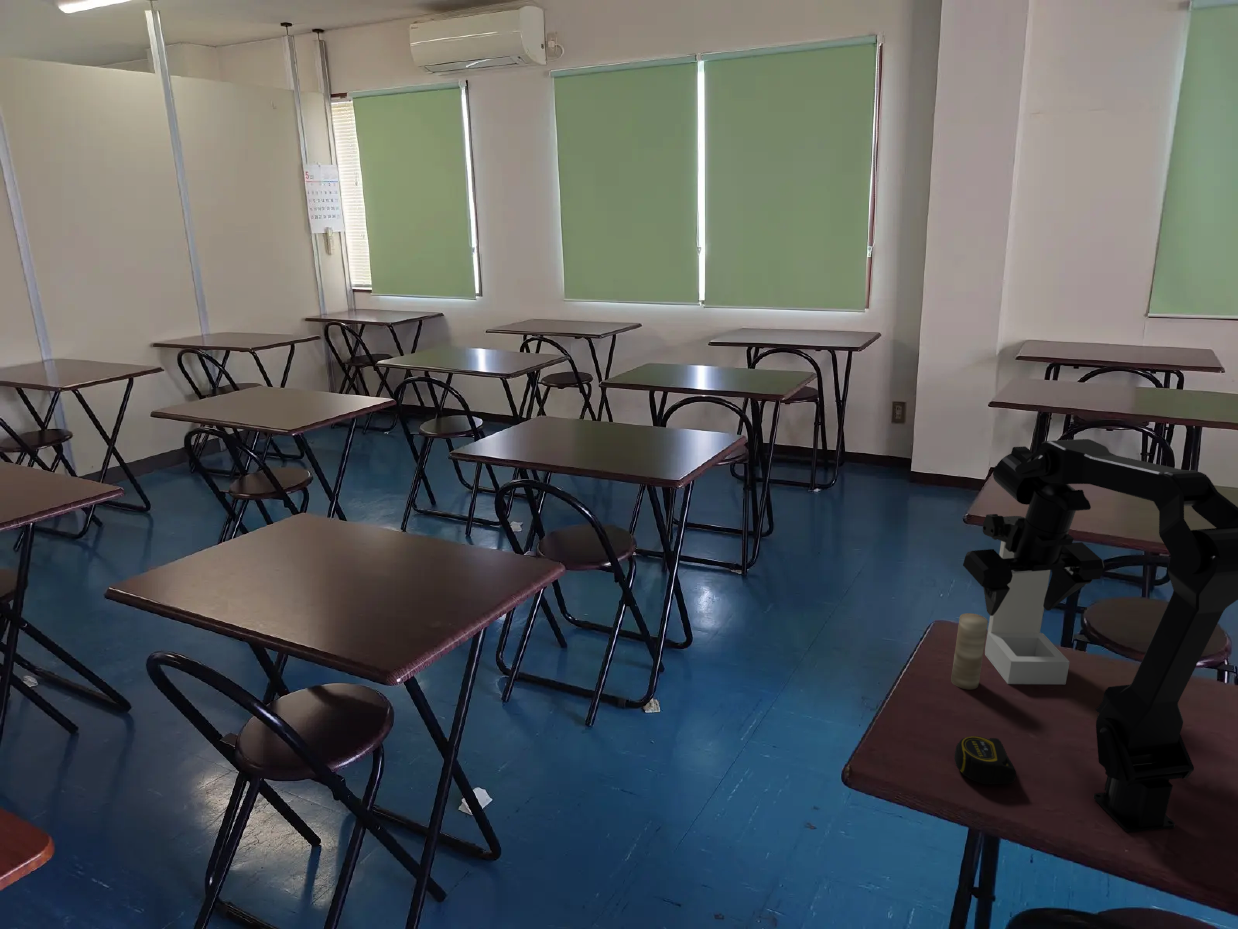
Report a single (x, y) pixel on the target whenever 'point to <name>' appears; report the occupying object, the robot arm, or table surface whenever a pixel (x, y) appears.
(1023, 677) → the white holder stand
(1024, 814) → the table surface
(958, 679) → the peg
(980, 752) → the tape measure
